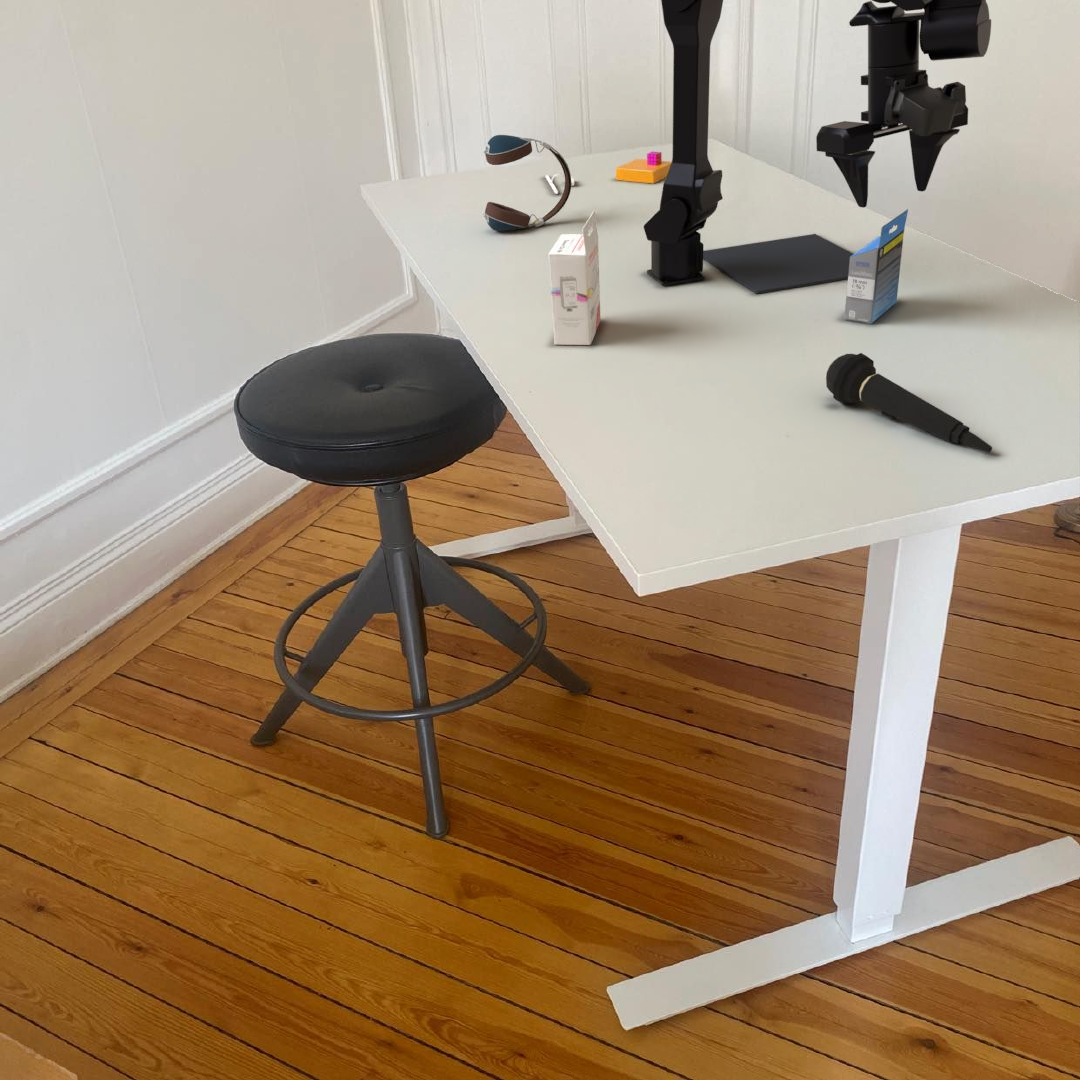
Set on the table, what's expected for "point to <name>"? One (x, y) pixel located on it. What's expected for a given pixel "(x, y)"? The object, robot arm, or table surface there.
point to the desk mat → (782, 263)
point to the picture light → (554, 185)
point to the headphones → (511, 150)
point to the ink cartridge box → (575, 286)
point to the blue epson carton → (875, 274)
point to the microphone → (893, 400)
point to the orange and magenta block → (644, 169)
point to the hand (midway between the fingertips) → (892, 198)
